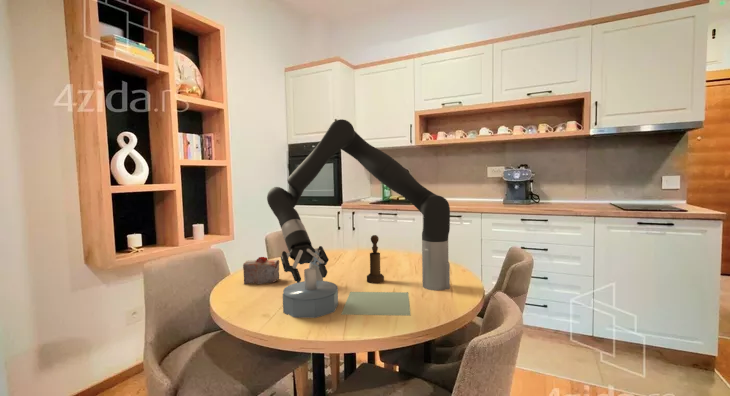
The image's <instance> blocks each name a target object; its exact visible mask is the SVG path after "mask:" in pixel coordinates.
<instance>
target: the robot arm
mask: <svg viewBox="0 0 730 396" xmlns="http://www.w3.org/2000/svg"><path fill="white" fill-rule="evenodd" d="M340 150H342V151H343V152H345V153H346V154H348V155H349V156H351V157H352V158H354V159H355V160H356V161H358V163H359V164H361V166H362V167H364V169H365V170H366V171H368V172H369V173H370V174H371V175H372V176H373V177H374V179H375V178H376V179H377V180H378V181H379V182H381V184H383V185H385V186H386V188H389V189H390V190H392V191H393V192H394V193H396V194H397V195H400V196H401V197H403V198H404V199H406V200H407V201H409V202H410V203H411V204H412V205H413V206H414V207H415V208H416V209H417V210H418V211H419V212H420V214H422V223H423V224H422V232H421V245H422V246H421V252H422V253H421V256H422V257H421V260H422V261H421V263H422V265H421V267H422V269H421V271H422V274H421V275H422V288H424V289H426V290H429V291H438V292H439V291H445V290H450V289H451V286H450V283H451V282H450V278H451V277H450V276H451V275H450V271H451V270H450V268H451V266H450V264H451V263H450V262H449V235H450V229H451V208H450V204H449V202H448V200H447V198H445V197H444V196H440V195H438V194H436V193H434V192H432V191H430V190H429V189H427V188H426V187H425V186H423V185H422V184H421V183H420V182H418V181H417V180H416V178H414V177H413V175H412V174H411V173H410V172H409V171H408V170H407V169H406V168H405V167H404V166H403V164H401V163H400V162H398V161H397V160H396V159H394V158H393V157H392V156H390V155H389V154H387V153H386V152H384V151H382V150H380V149H379V148H377V147H374V146H373V145H372V144H370V143H368V142H367V141H366V140H365V139H363V137H361V135H360V134H358V133H357V131H355V127H354V126H353V124H352V123H351V122H350V121H348V120H347V119H337V120H334V121H333V122H332V123H331V124H330V126H329V127H328V128H327V130H326V131H325V134H324V135H323V136H322V138H321V140H320V141H319V142H318V144H317V145H316V146H315V147H314V149H313V150H312V151H311V152H310V153H309V154H308V155H307V156H306V158H305V159H304V160H303V161H302V162H301V163H300V164H299V165H298V166H297V167H296V168H295V169H294V170H293V171H292V172H291V174H290V175H289V176H288V178H287V180H286V181H287V183H288V184H289V185H288V186H289V189H288V190H286V189H284V188H283V187H279V186H274V187H271V188H270V189H269V190H268V192H267V196H266V200H267V204H268V207H269V208H270V210H271V211H272V213H273V214H274V215H275V217H276V219H277V220H278V223H279V226H280V229H281V233H282V236H283V240H284V242H285V245H286V247H287V251H288V252H286V251H285V250H283V251H281V252H282V253H281V255H280V260H281V264H282V267H283V268H282V269H283V271H284V272H285V273H288V272H290V273H291V275H292V278H293V281H295V282H296V283H299V282H302V277H301V274H300V272H299V268H297V267H298V264H299V265H304V264H310V263H312V264H313V265H316V266H318V267H319V270H320V273H321V275H322V277H323V279H324V278H326V277H327V276H328V275H327V274H328V270H327V267H326V266H327V264H328V262H329V258H328V255H327V253H326V252H325V250H324V248H323V246H321V245H319V247H317V248H314V246H313V245H312V244H313V243H312V242H311V241H312V240H311V239H310V237H309V234H308V232H307V230H306V228H305V225H304V223H303V222H302V220H301V217H300V215H299V213H298V211H297V210H296V209H295V206H297V204H298V202H299V201H300V199H301V197H302V195H303V192H304V191H305V189H307V187H308V186H309V185H311V183H312V182H313V181H314V179H315V178H316V177H317V176H318V175H319V174H320V172H321V170H322V169H323V168H324V166H325V165H326V164H327V162H328V161H329V160H330V159H331V158H332V157H333V156H334V155H335V154H337V152H338V151H340ZM315 253H317V255H316V254H315ZM318 255H319V256H318ZM319 257H320V258H319ZM289 258H290V259H292V260H293V263H292V265H291V264H290V262H289ZM313 258H314V259H315V260H313Z"/></svg>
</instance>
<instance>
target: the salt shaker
mask: <svg viewBox="0 0 730 396" xmlns="http://www.w3.org/2000/svg"><path fill="white" fill-rule="evenodd" d="M315 254H316V255H317V253H315ZM318 256H319V255H318ZM319 258H320V257H319ZM313 260H315V259H314V258H313ZM308 268H314V269H316V281H324V278H323V277H322V275H321V273H320V270H319V267H318V266H316V265H313V264H312V263H308Z"/></svg>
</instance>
